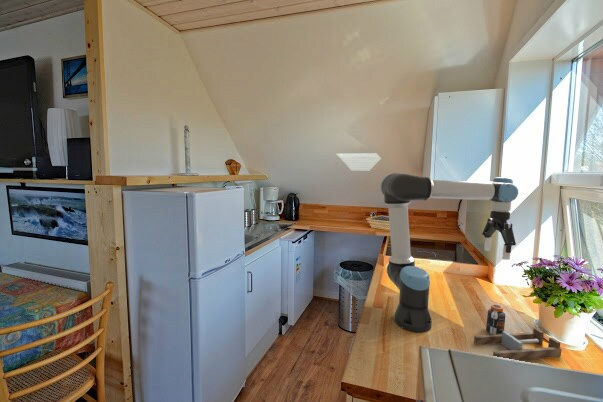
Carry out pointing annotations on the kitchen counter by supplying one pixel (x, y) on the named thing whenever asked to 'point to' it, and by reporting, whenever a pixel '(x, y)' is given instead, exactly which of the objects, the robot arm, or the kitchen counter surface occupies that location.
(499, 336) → the lane
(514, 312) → the kitchen counter surface
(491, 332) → the pill bottle
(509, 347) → the pusher
